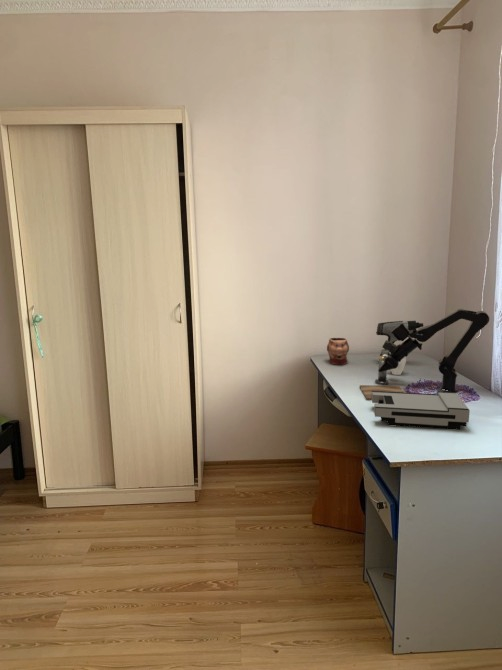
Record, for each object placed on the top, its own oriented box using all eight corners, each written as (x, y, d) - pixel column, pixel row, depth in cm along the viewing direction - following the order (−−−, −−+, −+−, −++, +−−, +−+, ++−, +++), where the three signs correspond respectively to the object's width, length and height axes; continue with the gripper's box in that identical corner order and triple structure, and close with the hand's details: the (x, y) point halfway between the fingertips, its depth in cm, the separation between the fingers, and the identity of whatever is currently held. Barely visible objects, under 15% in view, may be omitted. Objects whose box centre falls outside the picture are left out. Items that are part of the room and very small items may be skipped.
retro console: (371, 407, 190) (372, 388, 188) (454, 412, 184) (455, 392, 182) (374, 426, 170) (375, 404, 168) (467, 432, 164) (469, 410, 162)
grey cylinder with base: (390, 385, 219) (391, 358, 216) (376, 384, 219) (377, 358, 217) (387, 381, 225) (388, 355, 223) (373, 381, 225) (375, 355, 223)
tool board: (409, 400, 196) (409, 398, 196) (366, 400, 197) (366, 397, 197) (398, 388, 214) (399, 385, 214) (359, 387, 215) (359, 385, 215)
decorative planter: (323, 358, 272) (324, 335, 269) (344, 358, 272) (344, 334, 270) (330, 367, 252) (331, 342, 250) (352, 366, 253) (353, 341, 250)
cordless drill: (421, 367, 250) (424, 321, 245) (375, 365, 255) (377, 320, 250) (419, 363, 258) (422, 319, 253) (374, 362, 262) (376, 318, 258)
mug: (403, 372, 241) (404, 350, 239) (406, 376, 233) (407, 354, 231) (379, 371, 243) (381, 350, 241) (381, 375, 235) (382, 353, 233)
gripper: (395, 332, 225) (371, 352, 231) (391, 339, 208) (365, 360, 214) (411, 349, 223) (386, 369, 229) (409, 357, 206) (382, 378, 212)
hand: (380, 368), depth 221 cm, fingers open, 9 cm apart
